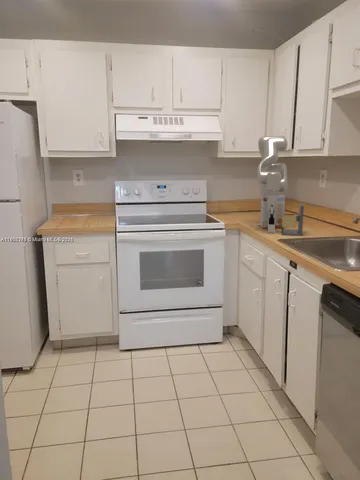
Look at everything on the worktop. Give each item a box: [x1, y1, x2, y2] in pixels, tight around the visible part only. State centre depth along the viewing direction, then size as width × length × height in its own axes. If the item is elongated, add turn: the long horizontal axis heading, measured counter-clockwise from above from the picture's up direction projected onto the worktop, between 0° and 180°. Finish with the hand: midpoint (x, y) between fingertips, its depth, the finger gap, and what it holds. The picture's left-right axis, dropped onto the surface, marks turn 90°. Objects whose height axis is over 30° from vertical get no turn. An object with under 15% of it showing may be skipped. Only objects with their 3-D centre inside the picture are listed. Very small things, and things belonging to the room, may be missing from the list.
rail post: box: [267, 211, 276, 234], centre depth 221 cm, size 4×4×14 cm
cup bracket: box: [281, 202, 305, 237], centre depth 217 cm, size 16×12×17 cm
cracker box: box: [260, 194, 286, 229], centre depth 237 cm, size 14×6×21 cm, turn 92°
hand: (271, 223), depth 221 cm, fingers closed on rail post, 4 cm apart
